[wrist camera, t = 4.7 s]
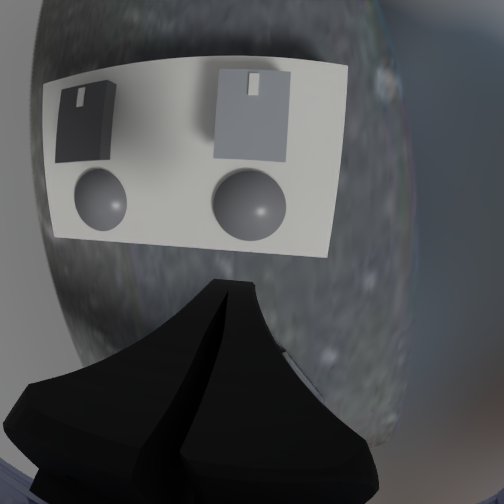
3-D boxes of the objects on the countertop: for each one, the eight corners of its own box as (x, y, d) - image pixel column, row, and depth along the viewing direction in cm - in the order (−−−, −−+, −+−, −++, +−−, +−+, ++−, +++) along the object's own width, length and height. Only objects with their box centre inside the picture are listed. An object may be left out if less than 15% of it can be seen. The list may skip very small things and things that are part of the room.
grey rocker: (284, 162, 13) (285, 162, 12) (217, 158, 13) (212, 158, 12) (289, 77, 12) (290, 71, 11) (223, 75, 12) (219, 68, 11)
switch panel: (319, 236, 18) (327, 259, 16) (77, 221, 19) (52, 238, 16) (335, 74, 14) (348, 65, 11) (70, 85, 15) (41, 83, 12)
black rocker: (109, 159, 13) (98, 159, 12) (65, 163, 13) (53, 163, 12) (116, 84, 12) (106, 79, 11) (71, 92, 12) (60, 89, 11)
